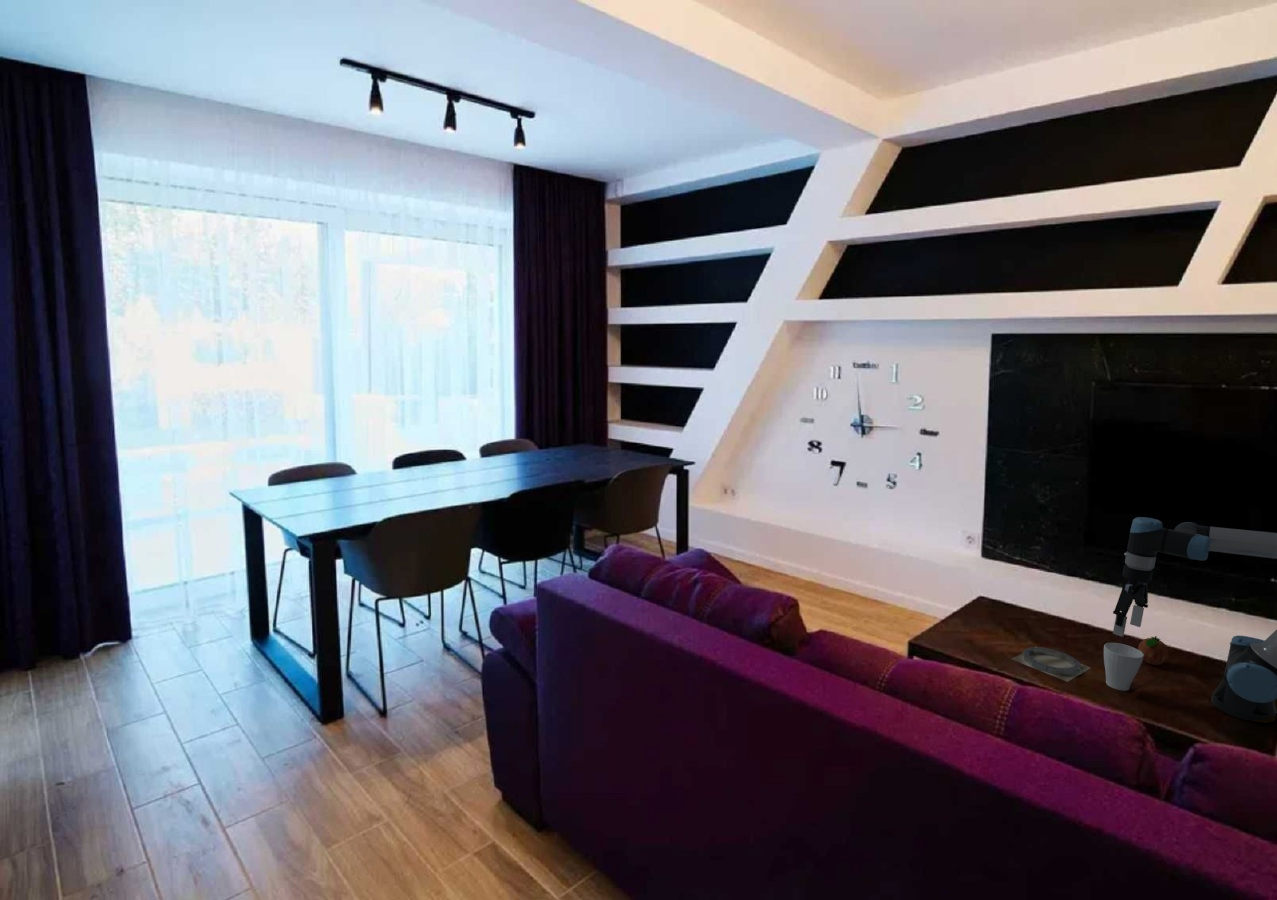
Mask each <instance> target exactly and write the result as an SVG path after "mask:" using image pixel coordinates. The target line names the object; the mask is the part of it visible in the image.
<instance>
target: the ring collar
mask: <svg viewBox="0 0 1277 900" xmlns="http://www.w3.org/2000/svg"><path fill="white" fill-rule="evenodd" d="M1022 653H1023V658H1024V661H1026V662H1027V663H1028V664H1030V665H1031V666H1032V667H1035V668H1037V669H1040V670H1042V671H1044V672H1047V673H1052V674H1057V675H1076V674H1077V673H1079V672H1080V668H1081V666H1080V664H1081V663H1080V662H1079V660H1077V659H1076V658H1074V657H1073V656H1072V655H1069V654H1067V653H1065V652H1062V651H1060V650H1057V649H1052V648H1047V647H1042V646H1041V647H1040V646H1031V647H1028V648H1025V649H1023V652H1022ZM1032 654H1045V655H1050V656H1055V657H1057V658H1060V659H1063V660H1065V661H1067V662H1068V663H1070V664H1071V665H1073V667H1072V668H1057V667H1052V666H1048V665H1045V664H1043V663H1040V662H1038V661H1036V660H1034V659H1033V658H1032V657H1030V655H1032ZM1079 663H1080V664H1079ZM1032 667H1031V668H1032ZM1037 669H1036V670H1037ZM1042 671H1041V672H1042ZM1044 672H1043V673H1044ZM1047 673H1046V674H1047Z"/></svg>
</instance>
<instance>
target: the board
mask: <svg viewBox="0 0 1277 900" xmlns="http://www.w3.org/2000/svg"><path fill="white" fill-rule="evenodd" d="M1030 657H1032V658H1033V659H1034V660H1036V661H1038V662H1040V663H1043V664H1045V665H1048V666H1052V667H1057V668H1072V667H1073V665H1071V664H1070V663H1068V662H1067V661H1065V660H1063V659H1060V658H1057V657H1055V656H1050V655H1045V654H1032V655H1030ZM1011 660H1012V661H1015V662H1018V664H1019V663H1020V664H1022V665H1025V666H1027V667H1030V668H1033V669H1034V670H1037V671H1039V672H1042V673H1045V674H1047V675H1049V676H1052V677H1054V678H1057V679H1059V680H1061V681H1064V682H1070V681H1071V680H1073V679H1075V678H1076V677H1078V676H1079V675H1082V674H1084V673H1085V672H1087V671H1089V670H1090V669H1091V668H1092V667H1091V666H1088V665H1085V664H1083V663H1080V662H1079V664H1080V666H1081V668H1080V672H1079V673H1077V674H1076V675H1057V674H1052V673H1047V672H1044V671H1042V670H1040V669H1037V668H1035V667H1032V666H1031V665H1030V664H1028V663H1027V662H1026V661H1024V658H1023V652H1022V653H1020V654H1018V655H1016V656H1015V657H1012V658H1011Z"/></svg>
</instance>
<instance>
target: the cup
mask: <svg viewBox="0 0 1277 900" xmlns="http://www.w3.org/2000/svg"><path fill="white" fill-rule="evenodd" d="M1143 657H1144V654H1143V653H1142V652H1141V651H1139V650H1138V648H1135V647H1133V646H1131V645H1127V644H1124V643H1119V642H1107V643H1105V644H1104V645H1103V664H1104V668H1105V669H1104V670H1105V671H1104V672H1105V683H1106V685H1107V686H1108V687H1110V688H1112V689H1115V690H1118V691H1125V692H1126V691H1129V690H1130V689H1131V688H1130V687H1131V684H1132V683H1133V681H1134V679H1135V677H1136V675H1137V673H1138V671H1139V669H1140V668H1141V665H1142V663H1143Z"/></svg>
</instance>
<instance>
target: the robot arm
mask: <svg viewBox="0 0 1277 900" xmlns="http://www.w3.org/2000/svg"><path fill="white" fill-rule="evenodd" d="M1128 536H1129V537H1128V542H1127V543H1128V544H1127V547H1126V552H1124V554H1123V555H1124V556H1125V559H1124V560H1125V561H1124V563H1125V564H1124V565H1123V570H1122V576H1123V578H1125V579H1127V580H1128V581H1127V582H1126V583H1123V584H1122V588H1121V592H1120V593H1119V596H1118V599H1117V603H1116V605H1115V608H1114V609H1113V611H1112V614H1114V615H1115V620H1114V626H1113V630H1112V634H1113V635H1116V636H1119V637H1122V638H1123V637H1124V636H1125V632H1126V631H1125V630H1126V626H1127V620H1128V616H1127V614H1128V612H1129V610H1130V609H1131V606H1132V611H1131V617H1130V623H1129V624H1130V625H1131V626H1135V627H1137V628H1141V626H1142V621H1143V616H1144V611H1145V608H1146V609H1147V608H1148V607H1149V604H1148V602H1149V594H1148V593H1149V592H1148V590H1149V588H1148V587H1149V583H1150V582H1151V581H1152V580H1153V575H1154V570H1153V569H1155V566H1156V565H1155V564H1156V561H1157V554H1158V553H1162V554H1167V555H1170V556H1171V555H1172V556H1176V557H1180V558H1184V559H1190V560H1197V561H1203V562H1204V561H1206V560H1207V559H1208V557H1209V552H1217V553H1225V554H1233V555H1234V554H1235V555H1242V556H1249V557H1250V556H1251V557H1259V558H1269V559H1277V532H1269V531H1261V530H1259V531H1258V530H1247V529H1238V528H1228V527H1217V526H1207V525H1200V524H1197V523H1195V522H1190V521H1189V522H1188V521H1187V522H1182V523H1179V524H1178V525H1177V526H1175V527H1174V529H1169V528H1165V527H1163V522H1162V521H1161V520H1159V519H1156V518H1152V517H1145V516H1144V517H1143V516H1138V517H1135V518H1134V519H1132V523H1131V527H1130V531H1129V534H1128ZM1133 601H1134V605H1132V604H1133ZM1230 640H1231V641H1230V642H1229V650H1228V655H1227V659H1226V665H1225V669H1224V674H1223V677H1222V678H1223V679H1222V680H1221V682H1220V683H1219V684H1218V685H1217V687H1216V688H1215V690H1214V691H1213V692H1212V694H1211V699H1210V702H1211V704H1212V705H1213V706H1214V707H1215V708H1217V709H1218V710H1219V711H1221V712H1223V713H1224V714H1227V715H1229V716H1231V717H1234V718H1237V719H1240V720H1243V721H1246V720H1263V719H1267V718H1271V717H1272V716H1275V715H1276V713H1277V708H1276V703H1275V701H1276V700H1277V629H1275V630H1274V631H1273V632H1272V633H1271V634H1270V635H1269V636H1268V637H1267V638H1266V639H1265V640H1264V639H1260V638H1256V637H1252V636H1248V635H1247V636H1246V635H1234V636H1232V638H1231V639H1230Z"/></svg>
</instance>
